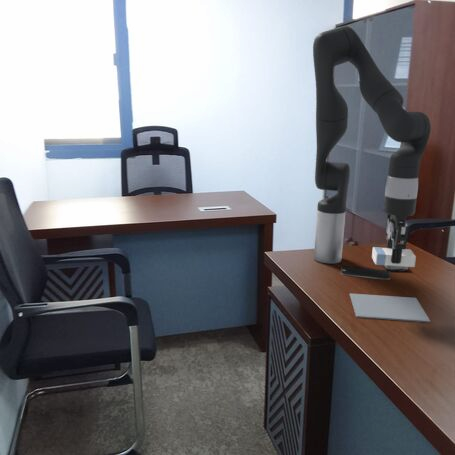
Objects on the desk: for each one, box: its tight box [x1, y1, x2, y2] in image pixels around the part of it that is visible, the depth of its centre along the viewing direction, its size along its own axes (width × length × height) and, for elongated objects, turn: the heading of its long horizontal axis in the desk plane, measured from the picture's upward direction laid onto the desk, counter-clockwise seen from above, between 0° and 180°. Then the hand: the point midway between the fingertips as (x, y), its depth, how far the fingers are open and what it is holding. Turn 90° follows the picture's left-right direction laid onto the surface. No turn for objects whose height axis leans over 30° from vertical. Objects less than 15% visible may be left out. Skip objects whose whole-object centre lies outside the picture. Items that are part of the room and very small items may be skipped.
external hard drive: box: [381, 265, 409, 272], centre depth 155 cm, size 7×11×2 cm, turn 1°
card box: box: [371, 246, 417, 268], centre depth 120 cm, size 10×6×3 cm, turn 83°
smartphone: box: [340, 265, 392, 281], centre depth 148 cm, size 8×1×15 cm
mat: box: [349, 293, 431, 323], centre depth 124 cm, size 14×18×1 cm
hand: (393, 258), depth 120 cm, fingers closed on card box, 5 cm apart
